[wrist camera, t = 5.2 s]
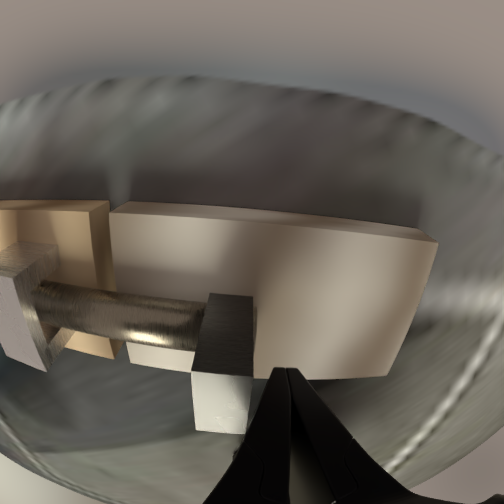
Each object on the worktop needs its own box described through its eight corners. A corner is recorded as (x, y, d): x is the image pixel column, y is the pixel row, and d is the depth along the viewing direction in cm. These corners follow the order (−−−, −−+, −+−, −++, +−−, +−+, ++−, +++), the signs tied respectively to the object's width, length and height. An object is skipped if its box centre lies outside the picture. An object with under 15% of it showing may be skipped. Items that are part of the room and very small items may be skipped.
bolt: (258, 286, 11) (261, 377, 7) (251, 344, 12) (251, 434, 8) (45, 262, 11) (-18, 316, 6) (58, 315, 12) (10, 375, 8)
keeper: (57, 244, 11) (12, 278, 8) (76, 329, 13) (46, 372, 9) (17, 240, 11) (-26, 269, 8) (37, 319, 12) (6, 355, 9)
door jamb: (417, 228, 13) (438, 243, 11) (375, 353, 16) (386, 375, 14) (-4, 200, 12) (-25, 209, 10) (20, 311, 15) (5, 327, 13)
